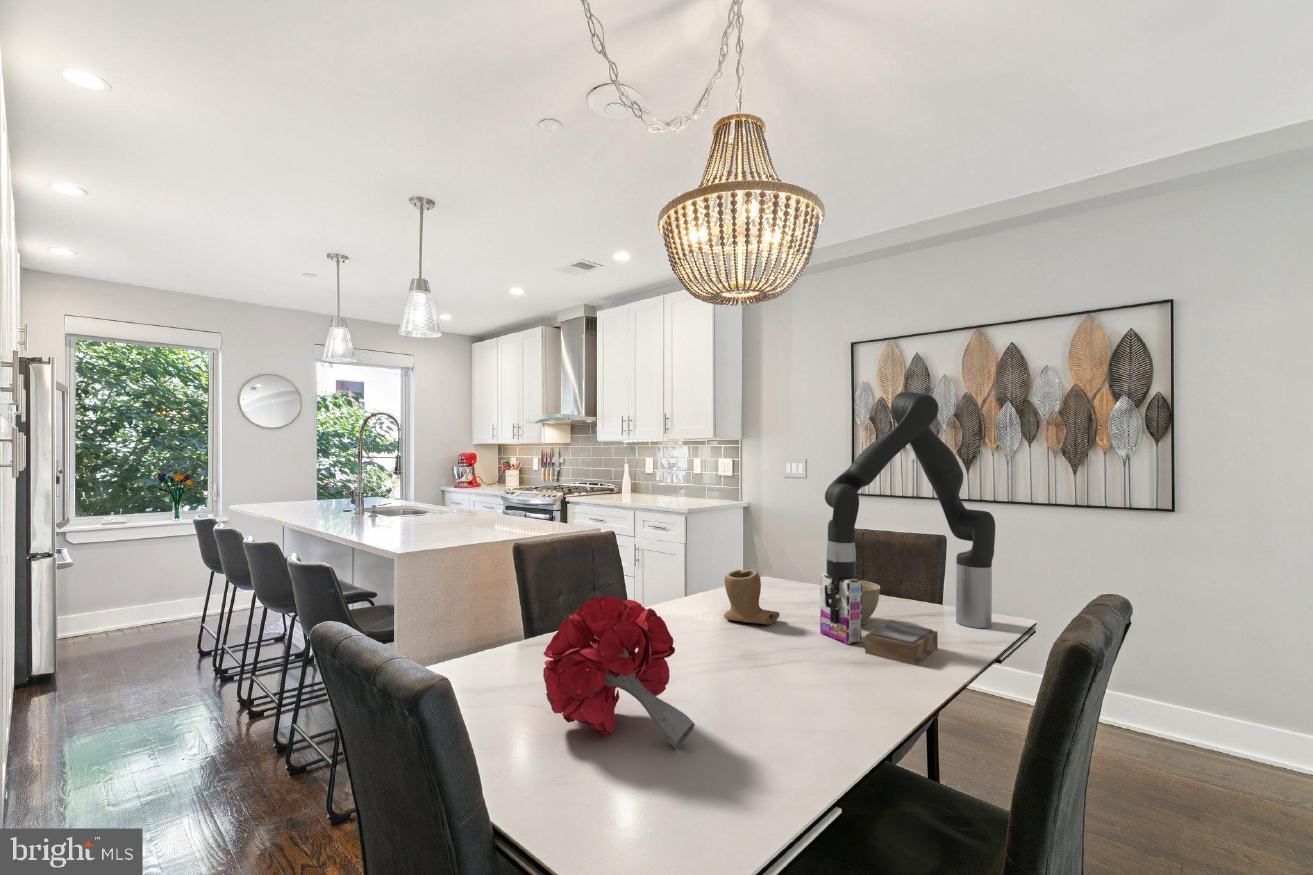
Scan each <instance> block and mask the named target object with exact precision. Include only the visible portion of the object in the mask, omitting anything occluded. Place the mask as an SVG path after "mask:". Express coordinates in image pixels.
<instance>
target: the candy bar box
mask: <svg viewBox="0 0 1313 875" xmlns="http://www.w3.org/2000/svg"><path fill="white" fill-rule="evenodd" d="M831 579H832V578H831V577H830V576H828V575H827V573H820V617H819V618H820V620H819V621H820V623H819V624H820V625H819V627H820V629H819V631H820V634H821V635H824V636H827V637H829V638H831V639H834V640H836V641H838V642H840V643H844V644H845V645H853V644H855V645H856V644H861V643H862V625H861V618H862V611H861V608H862V581H863V580H861V579H858V578H855V577H853V578H842V579H839V580H840V590H839V593H838V594H836V597H839V596H840V597H841V601H840V607H839V623H838V624H834V623H831V622H830V608H828V607H826V605H825V585H830V584H831ZM829 602H830V599H829ZM836 603H837V601H836Z"/></svg>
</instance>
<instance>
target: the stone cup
mask: <svg viewBox="0 0 1313 875" xmlns="http://www.w3.org/2000/svg"><path fill="white" fill-rule="evenodd" d="M724 587H725V588H724V589H725V591H726V595H727V597H728V601H729V602H730V609H729V610H727V611H726V612H724V613H723V618H725V619H726V620H729V621H734V622H743V623H750V624H757V625H758V624H759V625H767V626H769V625H772V624H774V623H775V622H776V621H777V620H778V619H779V618H780V616H781V615H780V612H778V611H775V610H774V611H773V610H768V609H762V608H761V606H760V596H761V589H762V588H761V587H762V583H761V577H760V574H759V572H758V571H756V570H754V569H751V568H750V569H744V570H742V569H741V570H740V569H736V570H732V571H729V572H728V573H726V574H725V576H724Z"/></svg>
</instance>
